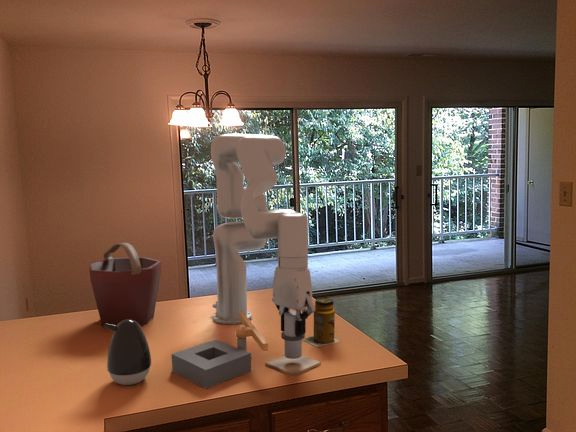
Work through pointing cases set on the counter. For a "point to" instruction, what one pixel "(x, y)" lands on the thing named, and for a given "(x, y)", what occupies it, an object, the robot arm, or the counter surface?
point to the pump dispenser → (128, 353)
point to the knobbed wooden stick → (250, 332)
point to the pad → (293, 364)
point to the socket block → (212, 362)
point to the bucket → (125, 286)
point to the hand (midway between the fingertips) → (293, 331)
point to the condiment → (323, 323)
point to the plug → (291, 337)
